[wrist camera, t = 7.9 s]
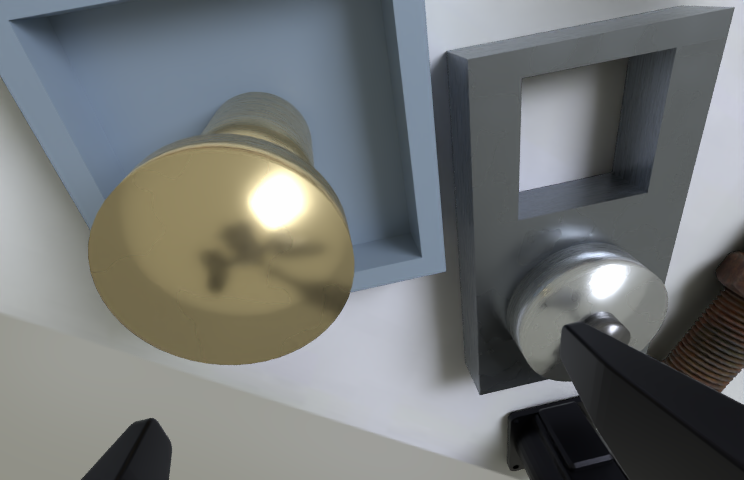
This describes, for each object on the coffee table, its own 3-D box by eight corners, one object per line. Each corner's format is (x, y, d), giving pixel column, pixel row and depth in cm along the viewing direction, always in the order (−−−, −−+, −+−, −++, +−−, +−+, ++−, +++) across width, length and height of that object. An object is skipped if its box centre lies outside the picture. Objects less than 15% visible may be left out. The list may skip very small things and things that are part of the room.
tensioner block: (618, 327, 27) (686, 398, 22) (465, 362, 26) (501, 442, 22) (681, 5, 18) (821, 10, 13) (446, 50, 17) (502, 73, 12)
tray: (428, 238, 21) (446, 271, 19) (169, 293, 21) (151, 335, 18) (396, -81, 15) (416, -97, 12) (12, -13, 14) (-53, -14, 11)
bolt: (768, 191, 26) (628, 373, 32) (760, 188, 22) (604, 393, 28) (899, 241, 22) (713, 435, 28) (913, 246, 19) (698, 466, 25)
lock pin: (340, 191, 19) (372, 337, 11) (217, 216, 18) (155, 385, 10) (312, 59, 16) (327, 125, 8) (166, 87, 15) (30, 184, 8)
